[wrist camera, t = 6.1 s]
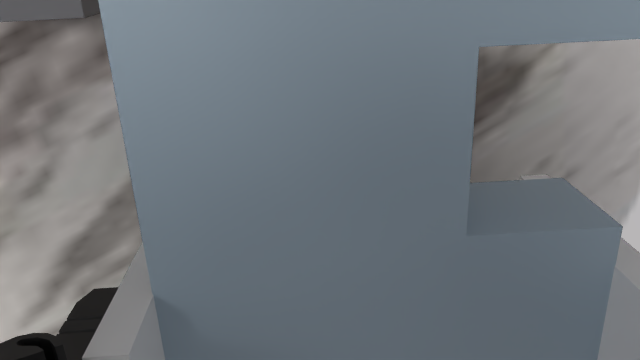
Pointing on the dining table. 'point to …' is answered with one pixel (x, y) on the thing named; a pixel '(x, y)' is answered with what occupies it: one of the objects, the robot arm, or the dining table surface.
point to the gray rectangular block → (46, 9)
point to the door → (350, 181)
